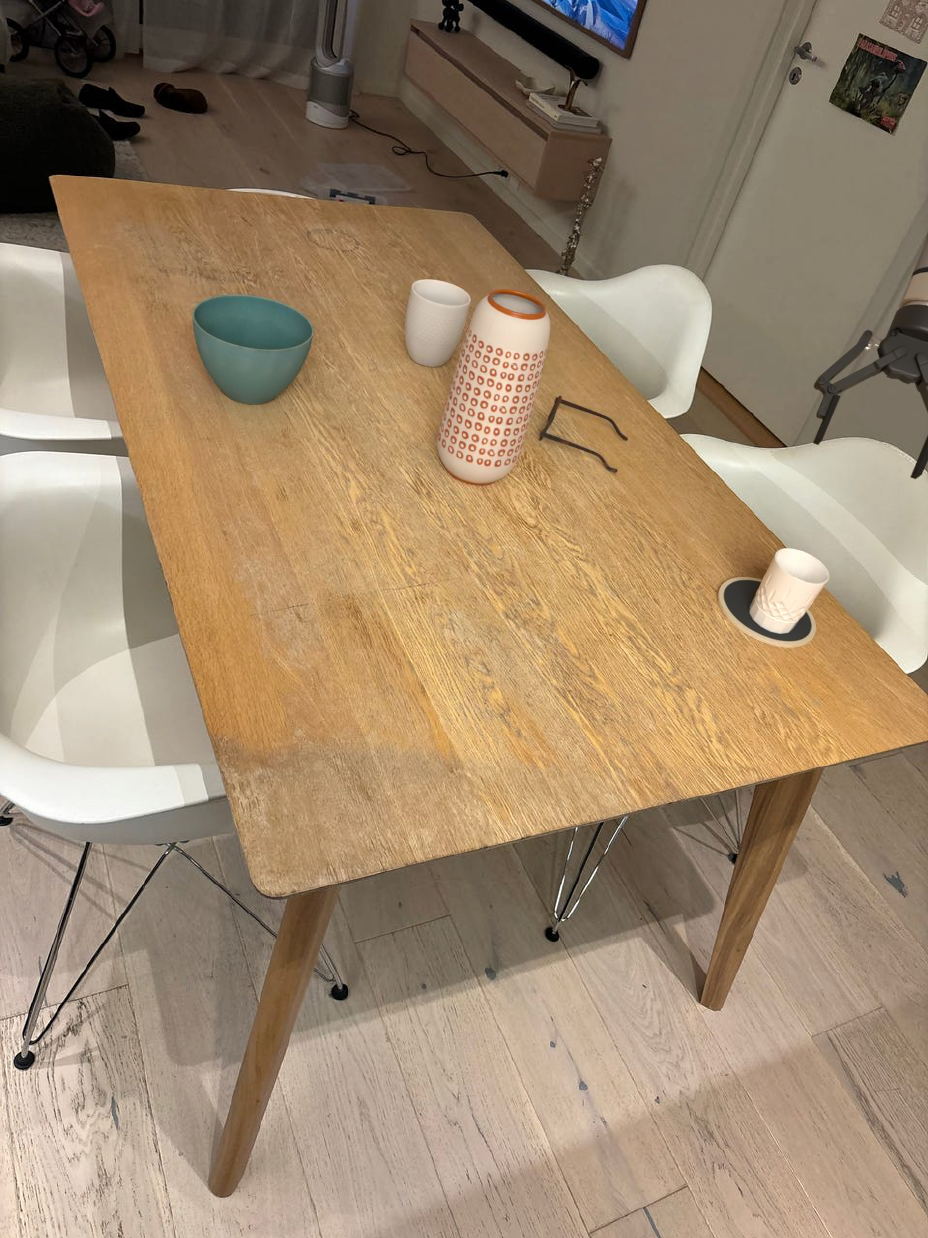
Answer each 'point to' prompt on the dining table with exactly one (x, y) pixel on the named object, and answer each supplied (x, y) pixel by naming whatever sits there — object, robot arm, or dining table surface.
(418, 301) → the mug
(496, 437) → the patterned vase
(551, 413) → the eyeglasses
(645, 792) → the dining table surface
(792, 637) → the face circle
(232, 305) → the teal bowl
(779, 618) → the white cup
